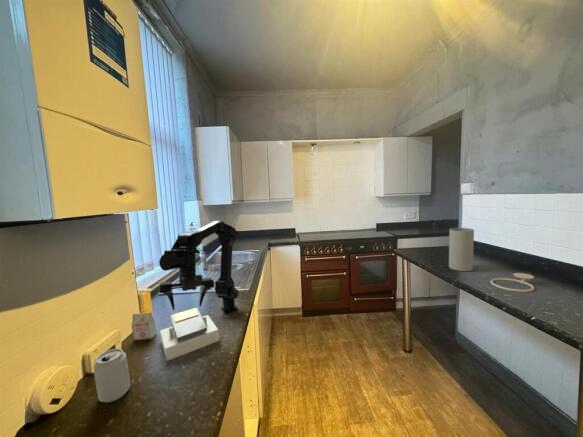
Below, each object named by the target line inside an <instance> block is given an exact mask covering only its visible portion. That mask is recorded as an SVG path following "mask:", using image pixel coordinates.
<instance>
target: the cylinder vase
mask: <svg viewBox="0 0 583 437" xmlns="http://www.w3.org/2000/svg"><path fill="white" fill-rule="evenodd" d="M448 237H449V238H448V268H449V269H451V270H453V271H456V272H457V271H459V272H470V271H473V269H474V242H475V241H474V239H475V230H474V229H473V228H467V227H451V228H449V234H448Z"/></svg>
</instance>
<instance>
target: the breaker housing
mask: <svg viewBox="0 0 583 437" xmlns="http://www.w3.org/2000/svg"><path fill="white" fill-rule="evenodd" d="M201 317H202V318H203V321H204V323H205V325H206V327H207V331H206V332H204V333H201V334H198V335H195V336H193V337H190V338H187V339H184V340H181V341H179V342H177V338H176V335H175V332H174V330H173V325H172V326H168V327H166V328H163V329H161V330H159V331H160V340H161V343H162V344H161V345H162V348H163V352H164V356H165V360H166V362H168V361H170V360H174V359H176V358H178V357H182V356H183V355H186V354H189V353H190V352H194V351H196V350H199V349H202V348H204V347H206V346H209V345H212V344H214V343H217V342H219V341H220V334H219V329H218V327H217V326H216V324H215V323H214V322H213V320H212V319H211V317H210V316H209V315H208V314H207V315H201Z"/></svg>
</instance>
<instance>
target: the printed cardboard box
mask: <svg viewBox="0 0 583 437" xmlns="http://www.w3.org/2000/svg"><path fill="white" fill-rule="evenodd" d="M131 329H132V330H131V331H132V336H133V338H132V339H133V341H141V340H142V341H143V340H151V339H153V338H154V337H155V336H156V334H157V331H156V323H155V319H154V317H153V315H152V312H141V313H140V312H139V313H133V314H132V323H131Z"/></svg>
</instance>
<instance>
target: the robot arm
mask: <svg viewBox="0 0 583 437" xmlns="http://www.w3.org/2000/svg"><path fill="white" fill-rule="evenodd" d="M213 234H215V235H216V236H218V242H219V244H220V245H221V248H220V249H221V252H220V254H221V255H220V271H219V272H220V274H219V278H218V280H215V281H214V279H213V278H211V277H205V278H203V274H197V273H196V272H197V254H200V253H201V251H200V250H198V248H197V247H199V246H200V245H201V244H202V243H203V241H204V240H205V239H206V238H208V237H210V236H211V235H213ZM237 235H238V231H237V230H236V228H235V227H233V226H232V225H231V224H230V225H229V224H227V223H225V222H224V221H222V220H212V221H211V222H210V223H208V224H206V225H204V226H201V227H200V228H198V229H196V230H194V231H193V230H192V231H186V232H182V233H179V234H178V235H177V238H176V240H175V241H174V242H173V243H174V244H173V245H172V247H171V249H170V250H164V252H163V255H161V257H160V259H159V260H158V261H159V267H160V269H161V270H162V271H165V272H166V271H171V270H177V269H179V272H178V273H179V276H178V278H179V280H178V283H177V282H176V283H172V281H162V282H160V283H159V286H158V287H159V288H158V289H159V291H158V292H159V294H162V295H163V296H167V298H168V300H169V302H170V304H171V308H172V311H175V303H174V302H175V301H174V300H175V299H174V292H173V290H175V289H181V290H182V291H183V292H185V291H190V290H191V291H194V290H196V289H197V287H199V288H200V289H199V300H198V302H199V303H198V306H199V307H201V306H202V304H203V301H204V298H205V296H206V293H207V292H208V291H210V290H211V288H214V292H215V294H216V296H217V298H218V299H222V307H220V309H221V311H222V312H223V313H224V314H228V313H230V312H235V311H237V310H239V308H238V306H237V305H236V299H237V298H238V297H239V294H240V293H239V290H238V289H237V288H235V281H234V279H233V278H232V261H233V246H234V244H235V243H236V241H237Z"/></svg>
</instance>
